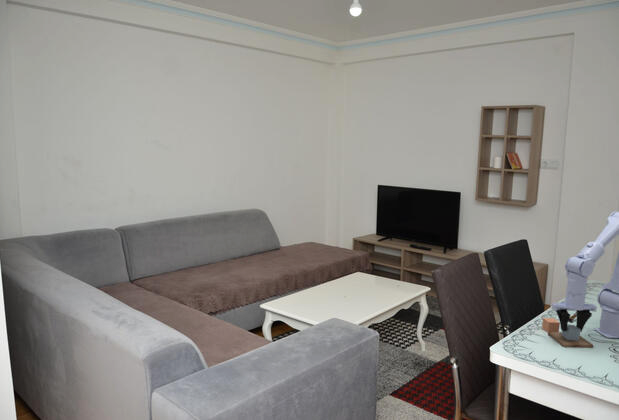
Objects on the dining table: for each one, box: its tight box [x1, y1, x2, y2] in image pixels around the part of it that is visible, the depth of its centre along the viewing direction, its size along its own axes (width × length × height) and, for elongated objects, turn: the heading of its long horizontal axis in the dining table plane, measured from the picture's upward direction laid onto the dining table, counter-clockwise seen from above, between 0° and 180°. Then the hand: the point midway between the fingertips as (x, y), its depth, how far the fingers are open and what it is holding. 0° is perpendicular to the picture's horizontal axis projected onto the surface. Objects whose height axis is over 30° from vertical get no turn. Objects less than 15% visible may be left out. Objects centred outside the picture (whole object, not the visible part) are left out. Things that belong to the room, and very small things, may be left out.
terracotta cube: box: [541, 317, 561, 334], centre depth 170 cm, size 4×4×4 cm
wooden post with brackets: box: [568, 311, 577, 323], centre depth 181 cm, size 2×8×5 cm, turn 118°
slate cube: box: [561, 323, 582, 341], centre depth 161 cm, size 4×4×4 cm
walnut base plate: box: [547, 331, 594, 349], centre depth 161 cm, size 10×10×1 cm
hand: (571, 330), depth 161 cm, fingers open, 5 cm apart
